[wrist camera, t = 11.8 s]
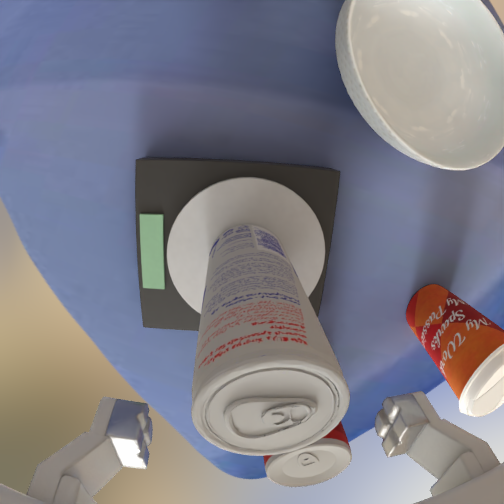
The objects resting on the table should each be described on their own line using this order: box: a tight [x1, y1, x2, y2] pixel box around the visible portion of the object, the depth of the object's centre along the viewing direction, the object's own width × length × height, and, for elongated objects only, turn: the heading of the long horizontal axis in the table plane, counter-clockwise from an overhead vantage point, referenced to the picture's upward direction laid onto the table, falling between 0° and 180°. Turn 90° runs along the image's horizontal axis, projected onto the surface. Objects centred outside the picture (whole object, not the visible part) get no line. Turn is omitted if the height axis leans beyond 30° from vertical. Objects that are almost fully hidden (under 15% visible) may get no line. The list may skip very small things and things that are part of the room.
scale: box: [135, 158, 340, 331], centre depth 25 cm, size 14×15×3 cm
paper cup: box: [406, 284, 504, 417], centre depth 24 cm, size 8×8×14 cm
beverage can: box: [191, 224, 350, 456], centre depth 17 cm, size 6×6×15 cm
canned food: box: [263, 421, 352, 487], centre depth 27 cm, size 8×8×11 cm
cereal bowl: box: [335, 0, 504, 170], centre depth 19 cm, size 17×17×7 cm
